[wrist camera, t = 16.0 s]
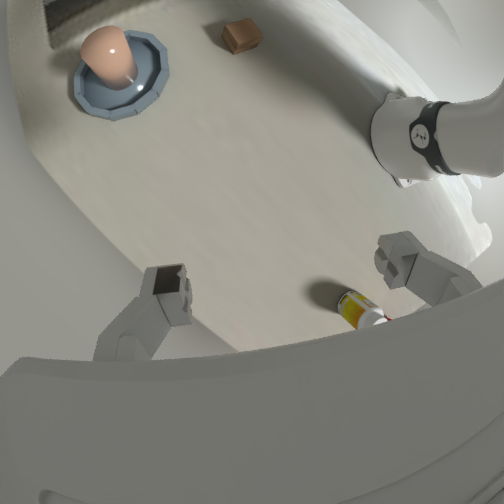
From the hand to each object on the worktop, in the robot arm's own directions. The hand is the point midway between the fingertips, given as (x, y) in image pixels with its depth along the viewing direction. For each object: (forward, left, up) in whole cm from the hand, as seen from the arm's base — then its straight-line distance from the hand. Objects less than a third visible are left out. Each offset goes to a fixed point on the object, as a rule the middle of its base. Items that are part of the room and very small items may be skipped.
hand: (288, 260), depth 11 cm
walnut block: (-8, -24, -29) cm, 39 cm away
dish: (+10, -21, -29) cm, 38 cm away
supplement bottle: (-22, +24, -30) cm, 44 cm away
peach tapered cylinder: (+10, -21, -29) cm, 37 cm away
